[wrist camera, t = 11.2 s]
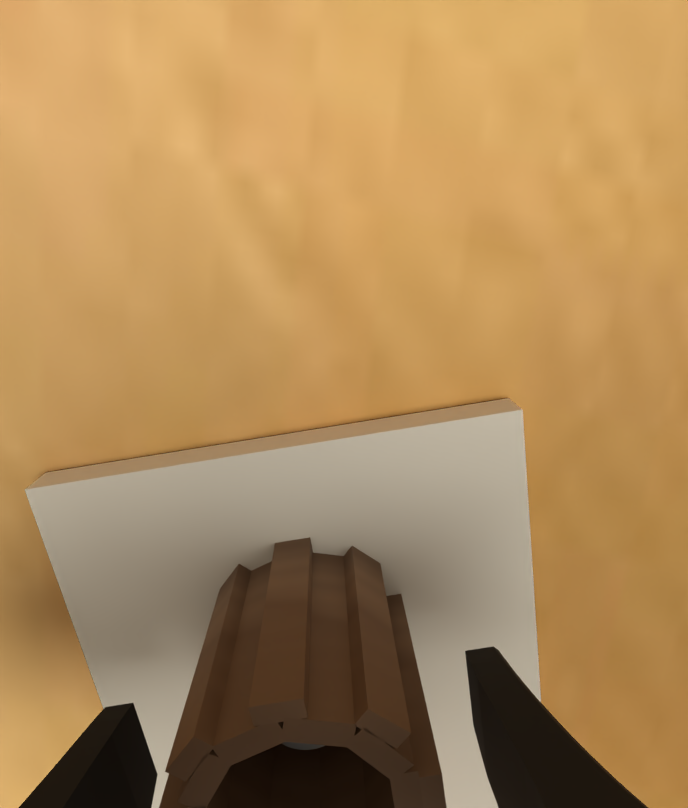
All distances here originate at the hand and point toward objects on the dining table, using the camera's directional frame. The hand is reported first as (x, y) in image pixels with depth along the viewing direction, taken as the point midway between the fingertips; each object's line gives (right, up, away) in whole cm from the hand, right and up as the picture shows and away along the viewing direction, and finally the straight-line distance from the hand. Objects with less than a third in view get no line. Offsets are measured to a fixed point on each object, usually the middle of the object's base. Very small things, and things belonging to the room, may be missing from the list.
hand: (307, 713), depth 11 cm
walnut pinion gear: (0, +1, +3) cm, 3 cm away
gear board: (0, -1, +4) cm, 5 cm away
